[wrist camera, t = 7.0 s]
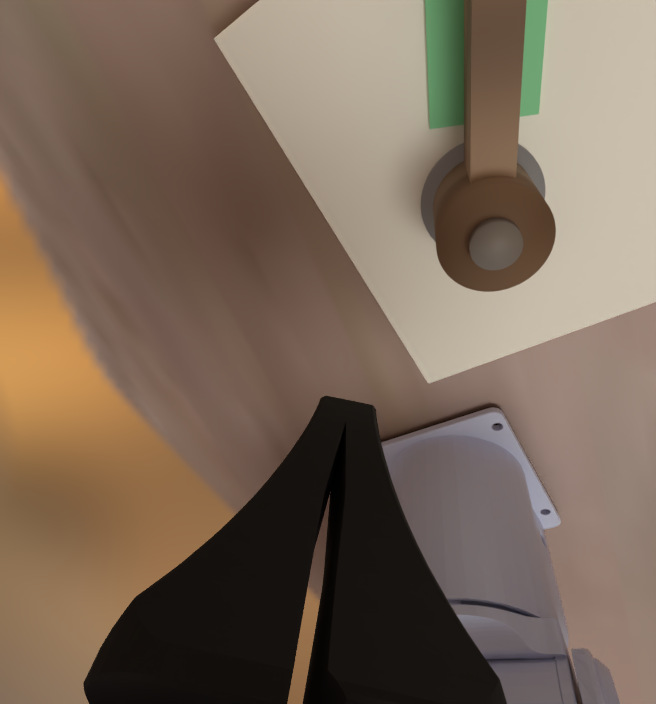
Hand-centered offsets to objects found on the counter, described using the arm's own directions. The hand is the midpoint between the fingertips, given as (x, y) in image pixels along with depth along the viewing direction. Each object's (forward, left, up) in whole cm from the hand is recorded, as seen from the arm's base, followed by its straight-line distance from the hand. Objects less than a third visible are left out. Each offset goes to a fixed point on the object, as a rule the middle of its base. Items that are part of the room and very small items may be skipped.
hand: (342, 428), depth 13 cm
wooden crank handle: (+4, -6, -7) cm, 11 cm away
